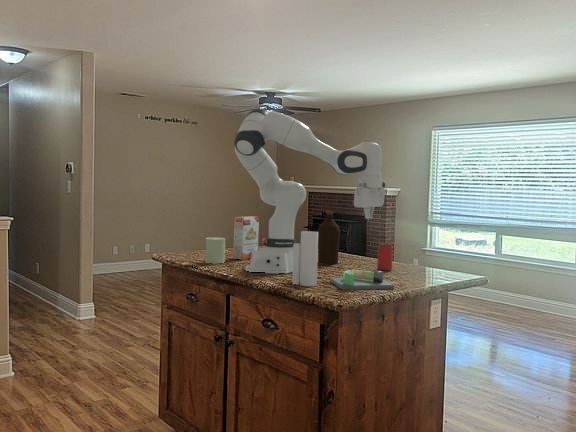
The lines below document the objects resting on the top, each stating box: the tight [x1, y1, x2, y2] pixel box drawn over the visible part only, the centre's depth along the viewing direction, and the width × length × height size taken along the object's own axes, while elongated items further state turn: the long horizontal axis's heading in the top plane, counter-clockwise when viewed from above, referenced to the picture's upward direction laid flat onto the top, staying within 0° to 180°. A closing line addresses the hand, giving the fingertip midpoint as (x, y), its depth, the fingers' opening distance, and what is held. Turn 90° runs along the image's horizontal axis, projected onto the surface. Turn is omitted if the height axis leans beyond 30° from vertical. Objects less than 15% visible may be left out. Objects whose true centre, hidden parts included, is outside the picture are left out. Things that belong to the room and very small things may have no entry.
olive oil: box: [317, 210, 341, 266], centre depth 260 cm, size 11×11×25 cm
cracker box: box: [232, 215, 260, 261], centre depth 268 cm, size 14×6×21 cm, turn 150°
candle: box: [291, 230, 318, 287], centre depth 205 cm, size 11×7×20 cm, turn 50°
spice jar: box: [351, 268, 384, 282], centre depth 208 cm, size 13×4×4 cm, turn 56°
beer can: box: [376, 242, 394, 272], centre depth 245 cm, size 7×7×12 cm
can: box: [204, 236, 226, 264], centre depth 252 cm, size 9×9×12 cm
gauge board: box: [329, 269, 395, 291], centre depth 206 cm, size 20×16×6 cm
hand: (368, 218), depth 213 cm, fingers closed
